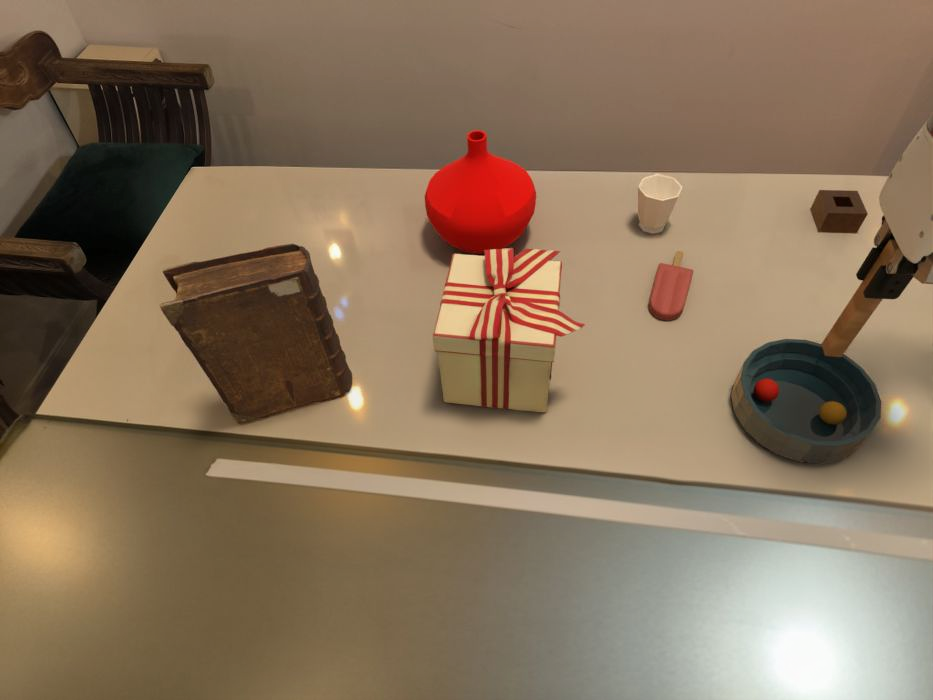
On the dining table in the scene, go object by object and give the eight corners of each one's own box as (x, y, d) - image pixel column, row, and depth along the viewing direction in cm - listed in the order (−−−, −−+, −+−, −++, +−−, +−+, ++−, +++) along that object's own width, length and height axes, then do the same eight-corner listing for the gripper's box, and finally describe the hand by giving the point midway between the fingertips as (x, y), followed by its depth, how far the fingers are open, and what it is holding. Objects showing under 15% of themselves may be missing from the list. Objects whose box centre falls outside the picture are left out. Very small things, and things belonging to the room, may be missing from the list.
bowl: (844, 364, 84) (860, 342, 80) (879, 470, 74) (899, 450, 70) (722, 358, 86) (732, 336, 82) (740, 460, 76) (753, 440, 72)
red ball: (772, 387, 82) (780, 374, 80) (776, 406, 80) (784, 393, 78) (749, 386, 82) (756, 373, 80) (753, 405, 80) (760, 392, 78)
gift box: (578, 415, 82) (590, 333, 68) (442, 412, 83) (428, 332, 70) (572, 320, 92) (582, 233, 79) (452, 319, 94) (441, 233, 80)
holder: (847, 209, 104) (857, 190, 101) (857, 233, 100) (868, 213, 97) (810, 208, 105) (819, 189, 101) (818, 232, 101) (828, 212, 98)
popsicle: (698, 251, 98) (682, 317, 89) (695, 258, 99) (680, 324, 90) (664, 244, 99) (646, 309, 91) (662, 251, 100) (644, 316, 92)
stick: (837, 345, 71) (909, 240, 58) (841, 357, 69) (916, 253, 57) (820, 344, 71) (889, 239, 58) (824, 356, 70) (895, 252, 57)
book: (353, 367, 89) (308, 238, 70) (356, 407, 85) (308, 281, 65) (239, 387, 88) (161, 261, 69) (236, 428, 84) (151, 306, 64)
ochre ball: (837, 410, 79) (847, 397, 77) (843, 430, 77) (853, 417, 75) (812, 408, 79) (822, 396, 77) (818, 428, 78) (827, 415, 75)
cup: (632, 238, 103) (639, 200, 96) (628, 201, 109) (635, 162, 102) (674, 239, 102) (685, 200, 96) (668, 201, 108) (678, 162, 102)
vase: (433, 202, 112) (421, 105, 97) (533, 199, 111) (536, 101, 96) (425, 271, 101) (410, 174, 86) (536, 270, 99) (540, 170, 84)
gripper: (1091, 186, 42) (943, 350, 57) (996, 73, 52) (890, 237, 66) (974, 183, 43) (857, 345, 58) (902, 72, 53) (818, 235, 67)
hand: (876, 286), depth 62 cm, fingers closed on stick, 1 cm apart
